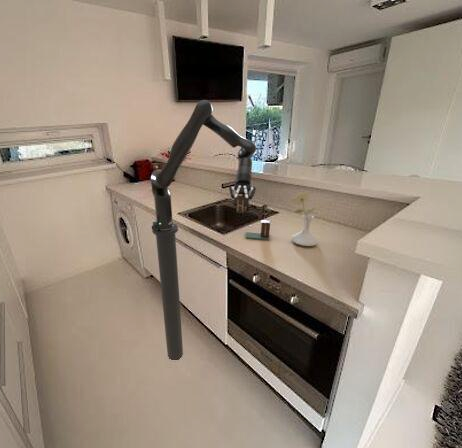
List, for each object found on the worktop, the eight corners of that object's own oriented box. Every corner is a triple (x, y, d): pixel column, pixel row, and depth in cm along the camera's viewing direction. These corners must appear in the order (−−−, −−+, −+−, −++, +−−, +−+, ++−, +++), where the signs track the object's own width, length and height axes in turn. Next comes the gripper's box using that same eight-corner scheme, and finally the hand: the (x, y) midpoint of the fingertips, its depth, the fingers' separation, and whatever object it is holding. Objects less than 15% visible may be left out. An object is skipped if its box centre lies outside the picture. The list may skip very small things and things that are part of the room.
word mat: (245, 238, 124) (246, 237, 124) (246, 233, 129) (247, 232, 129) (268, 240, 121) (268, 239, 121) (268, 235, 126) (268, 234, 126)
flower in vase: (314, 238, 121) (322, 189, 111) (319, 249, 110) (329, 195, 101) (286, 236, 124) (292, 188, 114) (289, 247, 114) (295, 195, 104)
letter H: (235, 213, 123) (236, 197, 120) (236, 210, 127) (237, 195, 124) (244, 213, 122) (244, 198, 119) (244, 211, 125) (245, 196, 122)
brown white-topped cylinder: (260, 237, 123) (261, 222, 120) (260, 234, 126) (261, 219, 123) (268, 238, 122) (270, 223, 119) (268, 235, 125) (270, 220, 122)
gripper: (229, 172, 126) (225, 201, 120) (258, 172, 122) (255, 202, 116) (230, 180, 133) (226, 208, 127) (257, 180, 129) (255, 210, 122)
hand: (240, 205), depth 121 cm, fingers closed on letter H, 4 cm apart
